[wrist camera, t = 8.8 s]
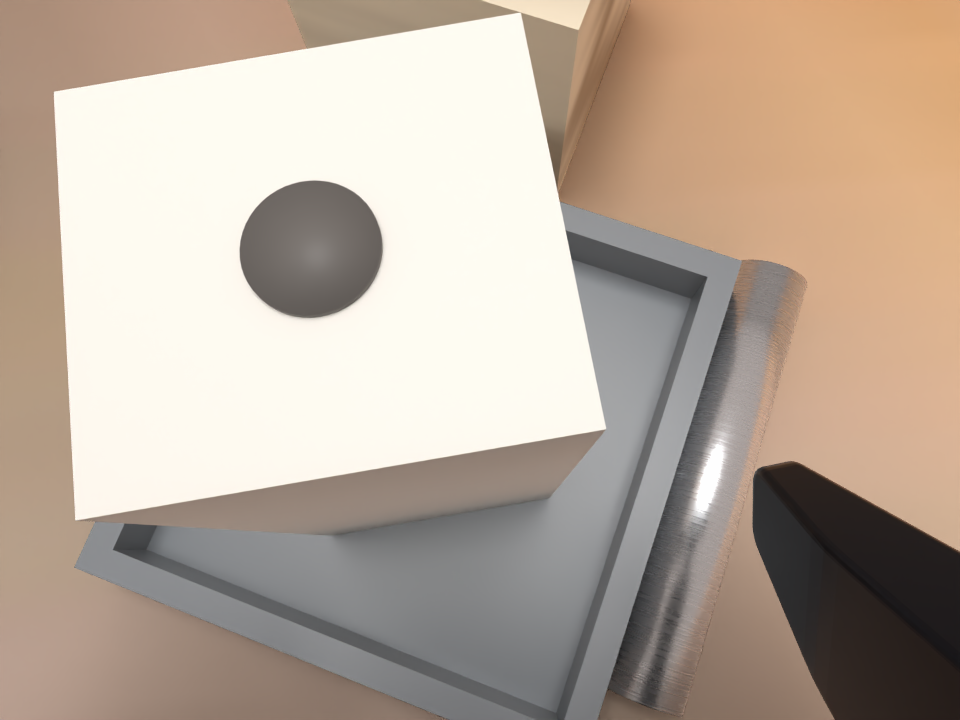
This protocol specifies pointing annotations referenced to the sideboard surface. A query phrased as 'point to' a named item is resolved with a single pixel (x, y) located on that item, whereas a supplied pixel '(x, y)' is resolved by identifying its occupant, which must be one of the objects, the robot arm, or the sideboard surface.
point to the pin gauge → (708, 490)
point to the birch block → (549, 34)
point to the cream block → (321, 289)
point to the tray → (483, 527)
